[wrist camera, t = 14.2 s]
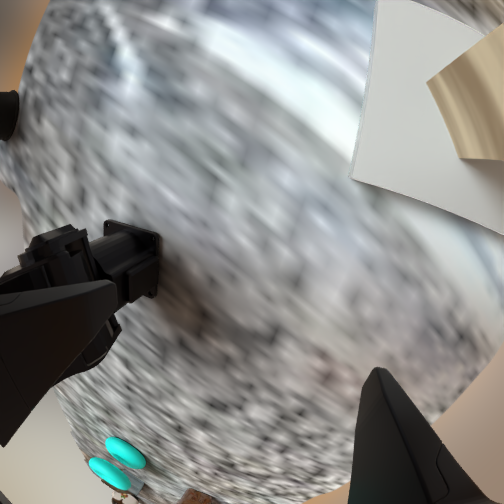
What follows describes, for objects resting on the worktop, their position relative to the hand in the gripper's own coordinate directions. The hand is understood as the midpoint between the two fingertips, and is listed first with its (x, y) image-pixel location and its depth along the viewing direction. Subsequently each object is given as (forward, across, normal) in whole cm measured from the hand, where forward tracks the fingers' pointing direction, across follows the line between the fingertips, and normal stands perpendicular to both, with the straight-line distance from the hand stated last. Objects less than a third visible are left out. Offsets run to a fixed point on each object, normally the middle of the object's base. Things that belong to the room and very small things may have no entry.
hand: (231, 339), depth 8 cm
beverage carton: (+13, +28, +86) cm, 91 cm away
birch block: (+10, -10, -12) cm, 18 cm away
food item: (+13, +4, +68) cm, 69 cm away
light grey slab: (+13, -10, -12) cm, 20 cm away
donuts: (+13, +21, +54) cm, 60 cm away
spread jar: (+13, +34, +119) cm, 125 cm away
